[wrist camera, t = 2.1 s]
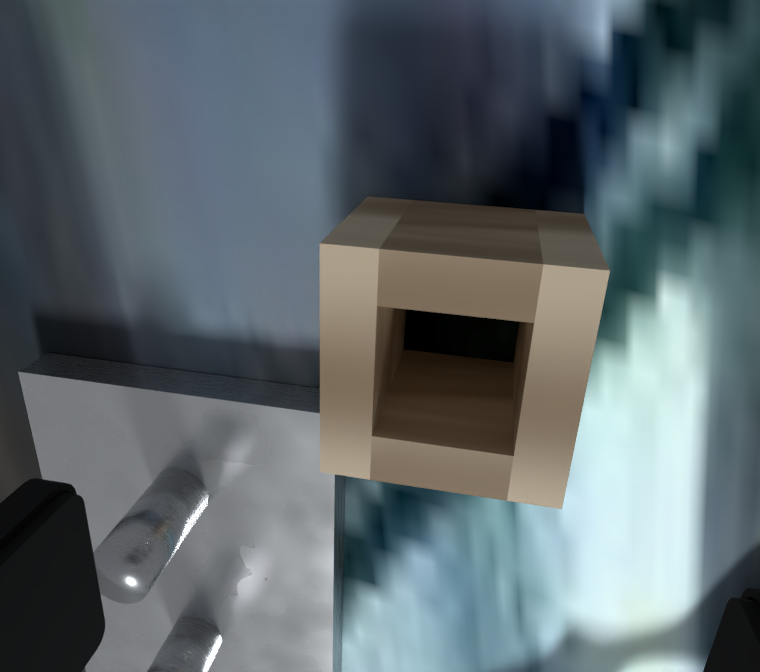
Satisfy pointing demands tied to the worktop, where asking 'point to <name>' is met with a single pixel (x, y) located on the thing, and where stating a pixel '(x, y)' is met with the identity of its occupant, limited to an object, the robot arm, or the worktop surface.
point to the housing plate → (243, 529)
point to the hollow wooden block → (449, 372)
